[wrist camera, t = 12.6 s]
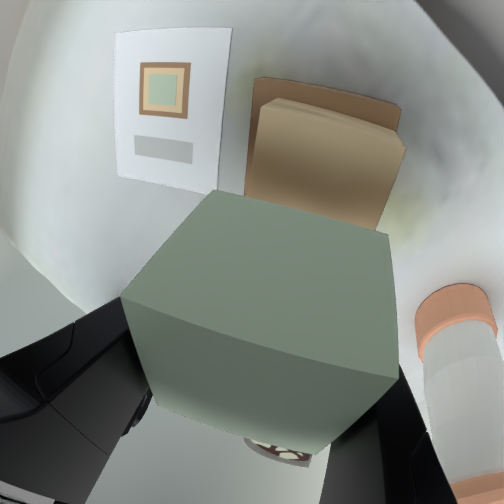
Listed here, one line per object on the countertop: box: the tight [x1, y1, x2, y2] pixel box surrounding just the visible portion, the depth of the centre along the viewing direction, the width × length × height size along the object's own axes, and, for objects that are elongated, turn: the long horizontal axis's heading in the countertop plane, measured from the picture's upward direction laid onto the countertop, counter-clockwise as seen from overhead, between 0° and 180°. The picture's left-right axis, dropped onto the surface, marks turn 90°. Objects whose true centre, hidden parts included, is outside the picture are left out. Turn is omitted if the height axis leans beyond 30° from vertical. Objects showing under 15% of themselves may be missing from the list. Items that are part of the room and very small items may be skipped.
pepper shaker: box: [415, 284, 504, 504], centre depth 14 cm, size 7×7×19 cm
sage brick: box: [120, 189, 399, 455], centre depth 7 cm, size 4×4×4 cm
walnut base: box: [244, 77, 402, 197], centre depth 17 cm, size 8×8×2 cm
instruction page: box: [114, 27, 232, 195], centre depth 19 cm, size 12×9×1 cm
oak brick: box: [247, 98, 406, 231], centre depth 15 cm, size 6×6×4 cm
